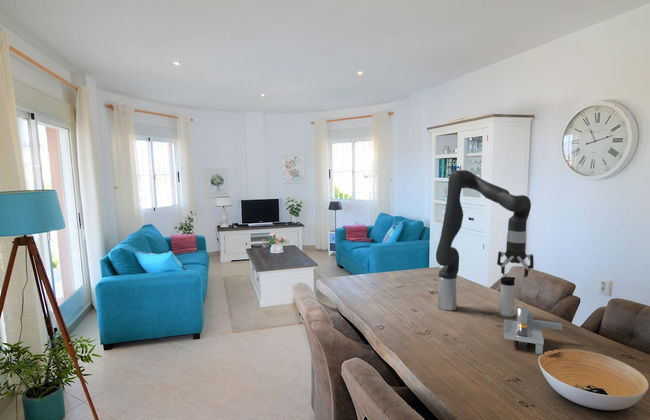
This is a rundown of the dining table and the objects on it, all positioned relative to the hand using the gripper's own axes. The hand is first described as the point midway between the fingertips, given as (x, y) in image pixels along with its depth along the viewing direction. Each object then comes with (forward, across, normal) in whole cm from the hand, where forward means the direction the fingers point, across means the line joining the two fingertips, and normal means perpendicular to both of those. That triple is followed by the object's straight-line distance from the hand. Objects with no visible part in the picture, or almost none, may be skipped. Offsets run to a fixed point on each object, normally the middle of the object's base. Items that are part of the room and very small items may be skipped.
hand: (514, 275), depth 157 cm
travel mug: (+27, -2, +20) cm, 34 cm away
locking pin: (+26, +4, -14) cm, 30 cm away
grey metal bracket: (+26, +8, -9) cm, 29 cm away
